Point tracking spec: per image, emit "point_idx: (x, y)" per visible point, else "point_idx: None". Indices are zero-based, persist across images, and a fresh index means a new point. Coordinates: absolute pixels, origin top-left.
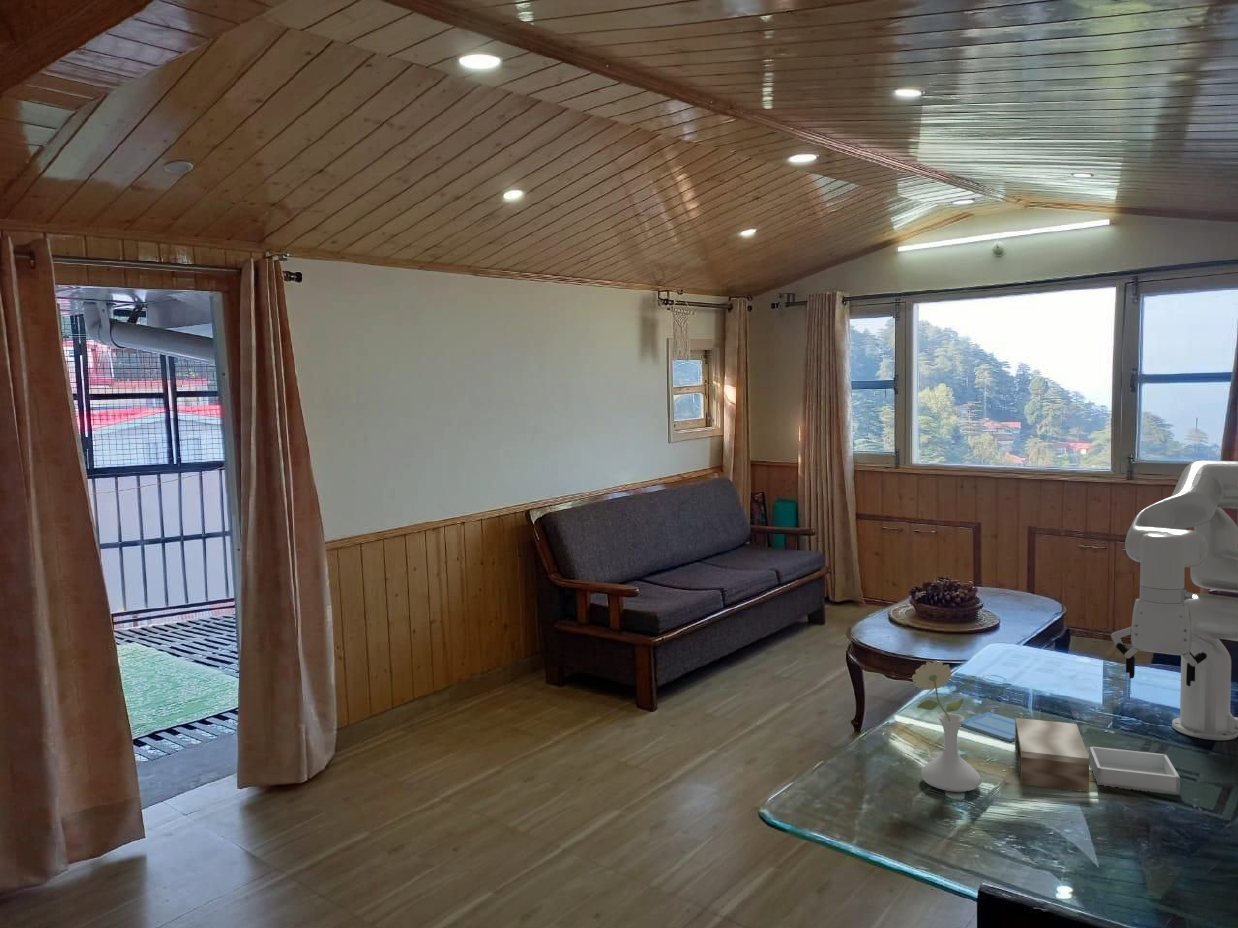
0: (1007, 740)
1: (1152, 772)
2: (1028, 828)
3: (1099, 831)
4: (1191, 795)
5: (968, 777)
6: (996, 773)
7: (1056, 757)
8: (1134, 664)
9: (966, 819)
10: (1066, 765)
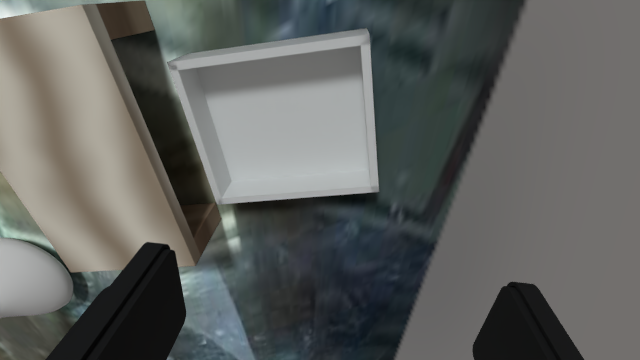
0: None
1: (331, 78)
2: (178, 340)
3: (255, 325)
4: (398, 162)
5: (51, 305)
6: None
7: None
8: (133, 342)
9: None
10: None
